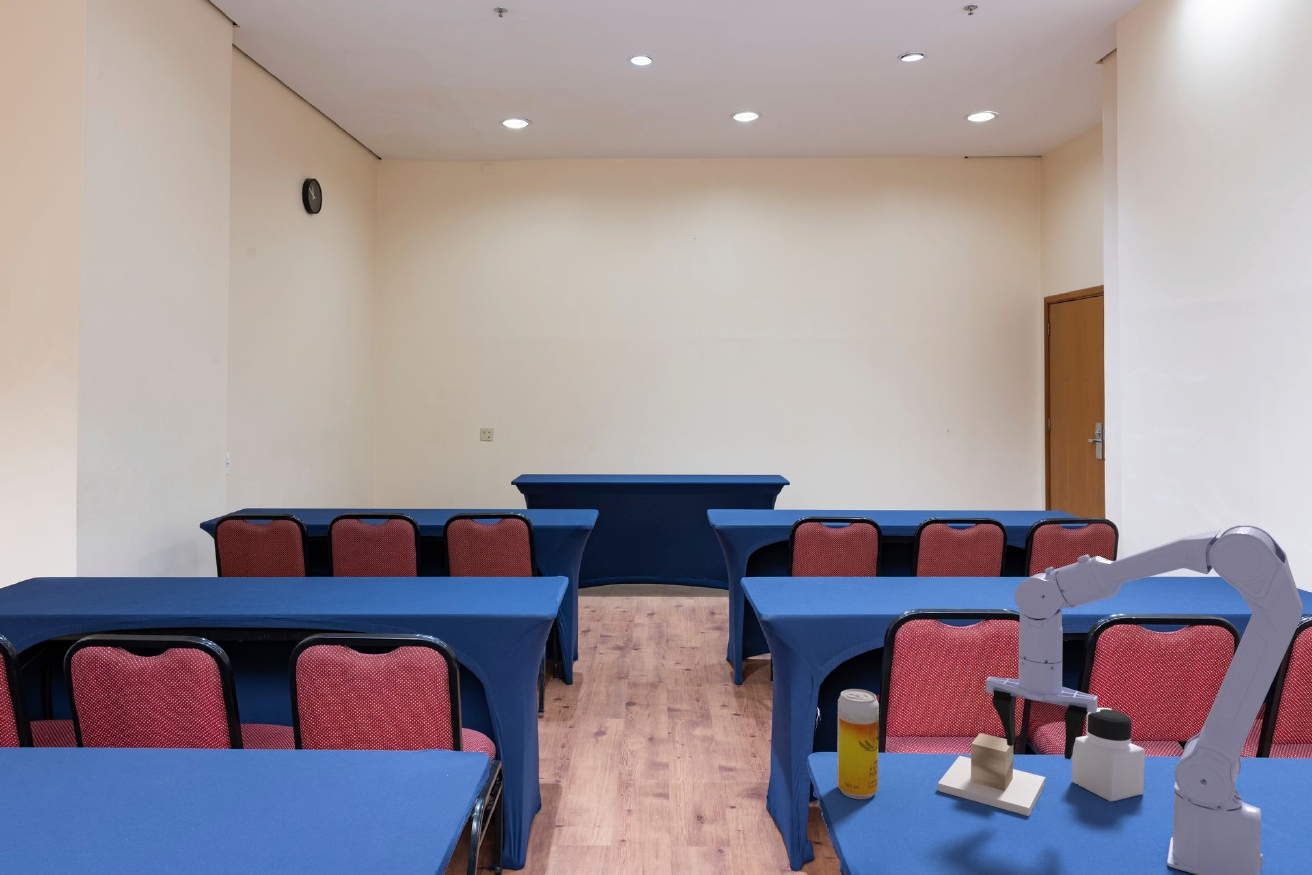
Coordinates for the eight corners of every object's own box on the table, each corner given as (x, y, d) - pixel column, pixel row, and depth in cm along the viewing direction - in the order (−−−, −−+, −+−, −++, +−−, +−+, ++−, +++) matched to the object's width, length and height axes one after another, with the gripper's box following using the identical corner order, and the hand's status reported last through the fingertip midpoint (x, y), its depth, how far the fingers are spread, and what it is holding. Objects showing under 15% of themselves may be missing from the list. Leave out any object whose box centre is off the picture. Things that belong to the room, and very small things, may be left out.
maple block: (1012, 778, 125) (1013, 740, 124) (1005, 790, 121) (1005, 751, 120) (979, 769, 128) (980, 732, 127) (970, 781, 124) (971, 743, 123)
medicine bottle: (1144, 794, 122) (1146, 717, 122) (1111, 802, 120) (1113, 723, 119) (1103, 774, 129) (1105, 701, 128) (1070, 781, 126) (1072, 707, 126)
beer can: (879, 802, 119) (880, 703, 119) (837, 798, 121) (838, 700, 120) (876, 783, 125) (877, 689, 125) (836, 780, 126) (837, 686, 126)
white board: (1045, 784, 125) (1045, 776, 125) (1029, 816, 115) (1029, 807, 115) (959, 762, 133) (959, 755, 133) (937, 790, 123) (937, 782, 123)
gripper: (980, 655, 117) (980, 746, 117) (1092, 674, 108) (1091, 772, 109) (992, 644, 123) (992, 731, 123) (1100, 661, 114) (1098, 754, 115)
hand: (1039, 749), depth 116 cm, fingers open, 7 cm apart
